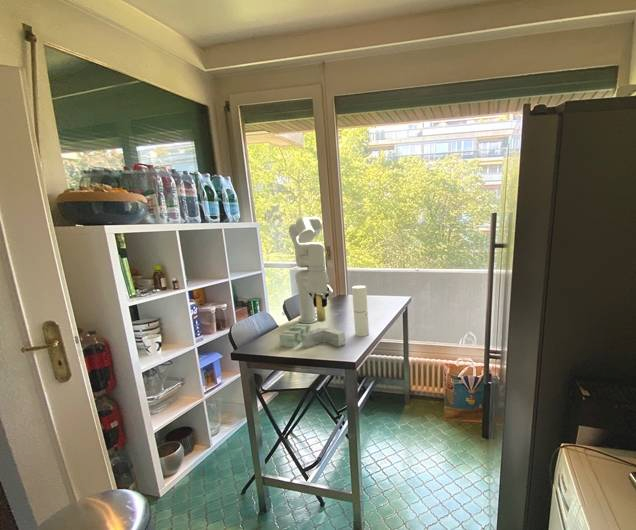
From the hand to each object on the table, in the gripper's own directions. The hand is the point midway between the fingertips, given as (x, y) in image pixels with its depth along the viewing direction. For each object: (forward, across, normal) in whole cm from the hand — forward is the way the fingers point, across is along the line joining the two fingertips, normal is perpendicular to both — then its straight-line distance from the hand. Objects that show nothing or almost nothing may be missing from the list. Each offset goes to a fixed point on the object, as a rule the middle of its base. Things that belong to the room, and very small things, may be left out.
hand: (320, 305), depth 160 cm
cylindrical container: (+20, +14, +19) cm, 30 cm away
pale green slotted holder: (+19, -16, +2) cm, 25 cm away
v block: (+19, -1, +2) cm, 20 cm away
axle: (+7, 0, 0) cm, 7 cm away
